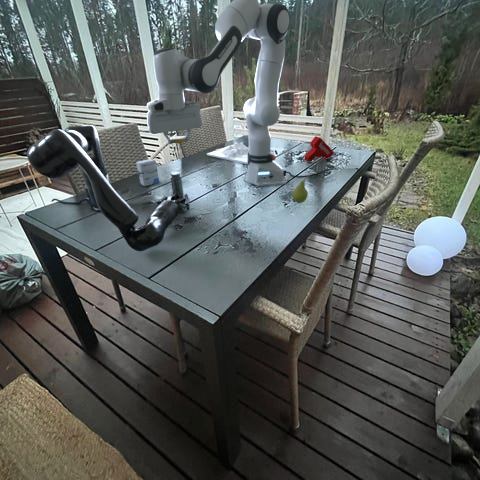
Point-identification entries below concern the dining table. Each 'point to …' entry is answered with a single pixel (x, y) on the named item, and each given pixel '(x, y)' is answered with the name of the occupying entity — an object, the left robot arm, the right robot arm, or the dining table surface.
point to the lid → (178, 139)
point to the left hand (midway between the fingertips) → (180, 195)
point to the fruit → (300, 192)
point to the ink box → (147, 172)
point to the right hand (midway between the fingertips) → (178, 142)
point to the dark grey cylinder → (177, 187)
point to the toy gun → (318, 150)
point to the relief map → (232, 153)
